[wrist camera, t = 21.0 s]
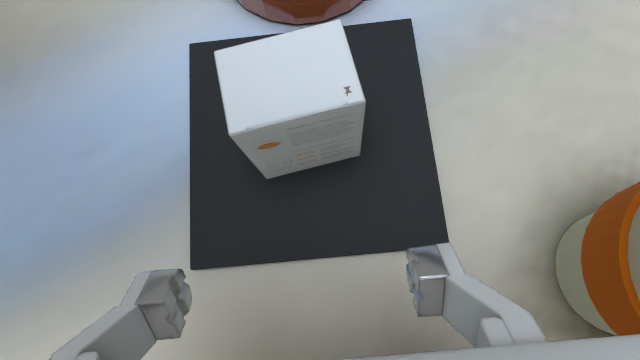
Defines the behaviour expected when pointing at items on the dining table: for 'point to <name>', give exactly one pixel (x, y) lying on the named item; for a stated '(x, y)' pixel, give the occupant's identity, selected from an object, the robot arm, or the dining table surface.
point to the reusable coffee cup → (604, 265)
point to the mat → (318, 169)
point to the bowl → (299, 9)
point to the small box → (293, 99)
